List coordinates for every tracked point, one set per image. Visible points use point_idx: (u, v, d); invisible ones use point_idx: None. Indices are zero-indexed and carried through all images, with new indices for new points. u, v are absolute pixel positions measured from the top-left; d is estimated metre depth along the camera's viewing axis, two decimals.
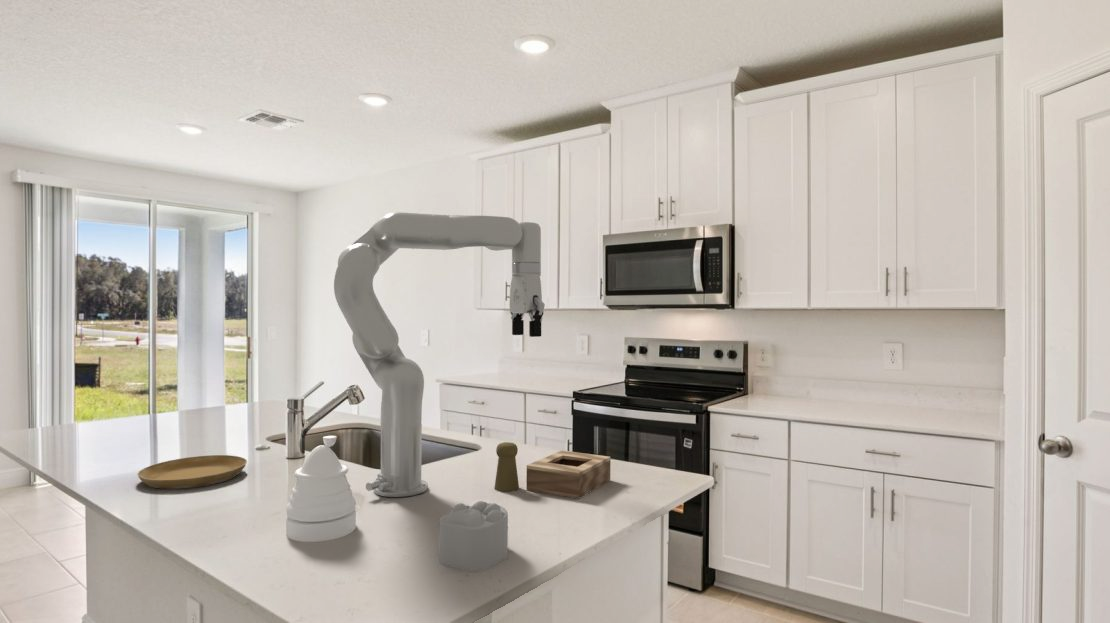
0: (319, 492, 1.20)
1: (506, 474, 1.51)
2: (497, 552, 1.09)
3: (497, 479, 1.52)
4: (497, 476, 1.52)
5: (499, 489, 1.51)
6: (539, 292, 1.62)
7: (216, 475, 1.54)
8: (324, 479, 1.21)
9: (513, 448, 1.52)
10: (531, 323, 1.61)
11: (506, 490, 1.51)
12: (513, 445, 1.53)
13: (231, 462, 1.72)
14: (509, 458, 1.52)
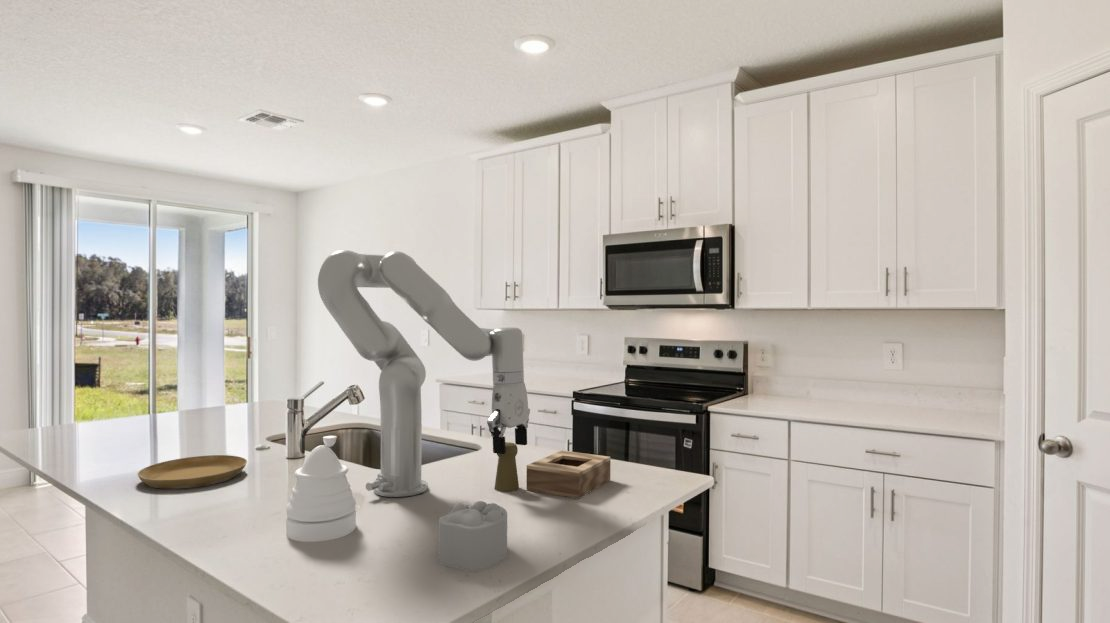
0: (319, 492, 1.20)
1: (506, 474, 1.51)
2: (496, 552, 1.09)
3: (497, 479, 1.52)
4: (497, 476, 1.52)
5: (499, 489, 1.51)
6: None
7: (216, 475, 1.54)
8: (324, 479, 1.21)
9: (513, 448, 1.52)
10: None
11: (506, 490, 1.51)
12: (513, 445, 1.53)
13: (231, 462, 1.72)
14: (509, 458, 1.52)
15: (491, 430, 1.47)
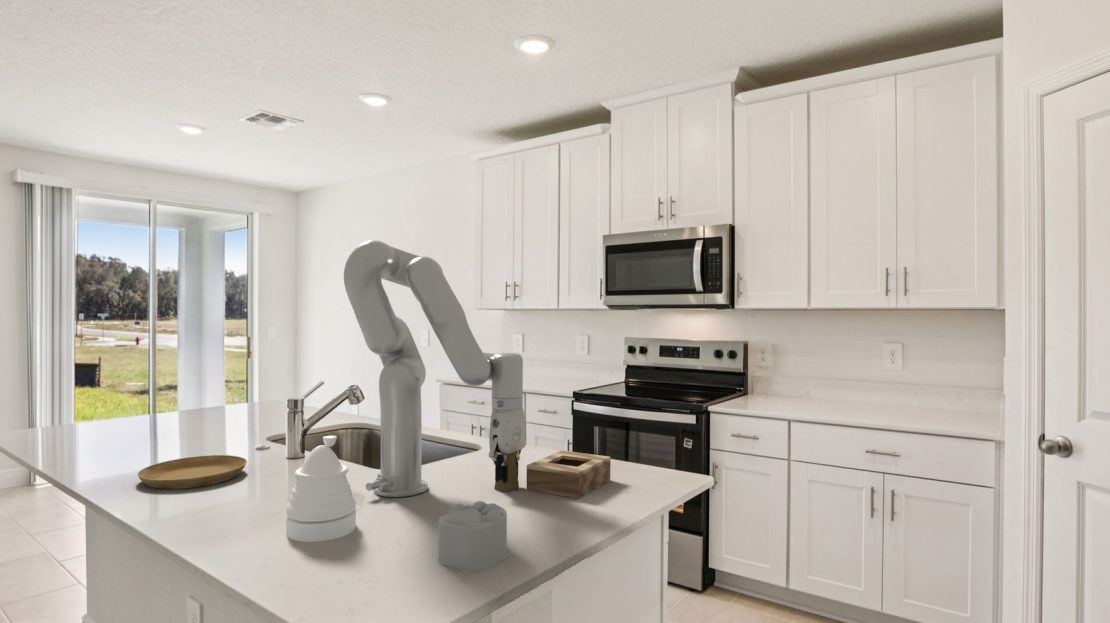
0: (319, 492, 1.20)
1: None
2: (496, 552, 1.09)
3: None
4: None
5: (499, 489, 1.51)
6: None
7: (216, 475, 1.54)
8: (324, 479, 1.21)
9: None
10: None
11: (506, 490, 1.51)
12: None
13: (231, 462, 1.72)
14: (509, 458, 1.52)
15: (494, 460, 1.50)
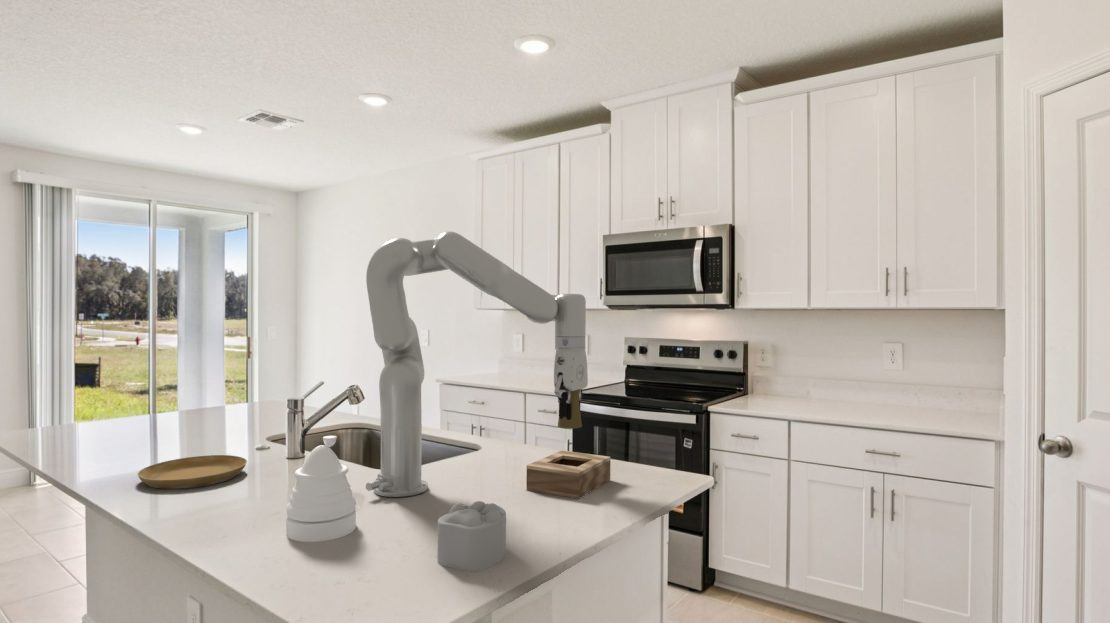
0: (319, 492, 1.20)
1: None
2: (495, 552, 1.09)
3: None
4: None
5: (563, 426, 1.54)
6: None
7: (216, 475, 1.54)
8: (324, 479, 1.21)
9: None
10: None
11: (570, 427, 1.54)
12: None
13: (231, 462, 1.72)
14: (573, 395, 1.55)
15: (559, 397, 1.52)
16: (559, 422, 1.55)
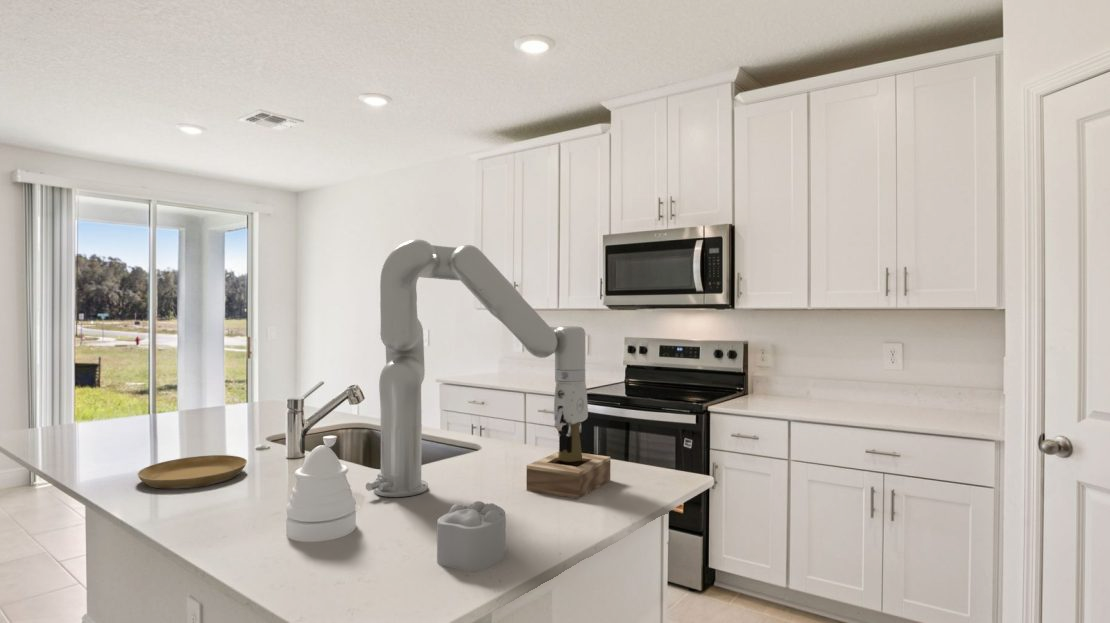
0: (319, 492, 1.20)
1: None
2: (495, 552, 1.09)
3: None
4: None
5: (564, 459, 1.54)
6: None
7: (216, 475, 1.54)
8: (324, 479, 1.21)
9: None
10: None
11: (571, 460, 1.54)
12: None
13: (231, 462, 1.72)
14: (573, 428, 1.55)
15: (560, 430, 1.52)
16: (559, 455, 1.56)
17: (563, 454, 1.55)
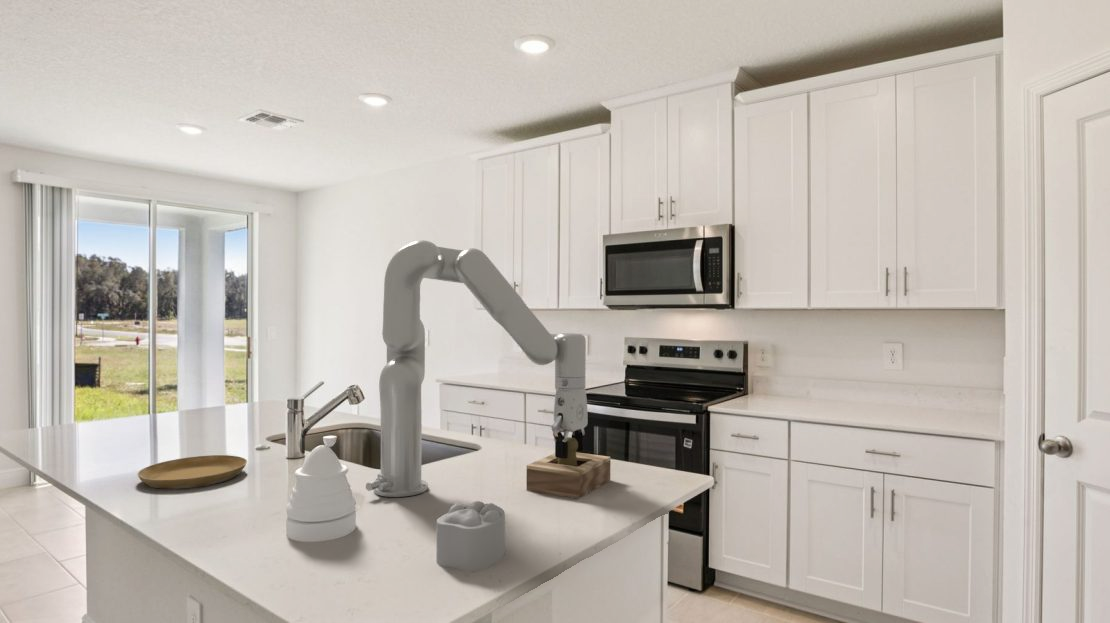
0: (319, 492, 1.20)
1: None
2: (494, 552, 1.09)
3: None
4: None
5: None
6: None
7: (216, 475, 1.54)
8: (324, 479, 1.21)
9: (574, 443, 1.54)
10: None
11: None
12: (574, 440, 1.55)
13: (231, 462, 1.72)
14: (571, 452, 1.54)
15: (555, 435, 1.51)
16: None
17: None
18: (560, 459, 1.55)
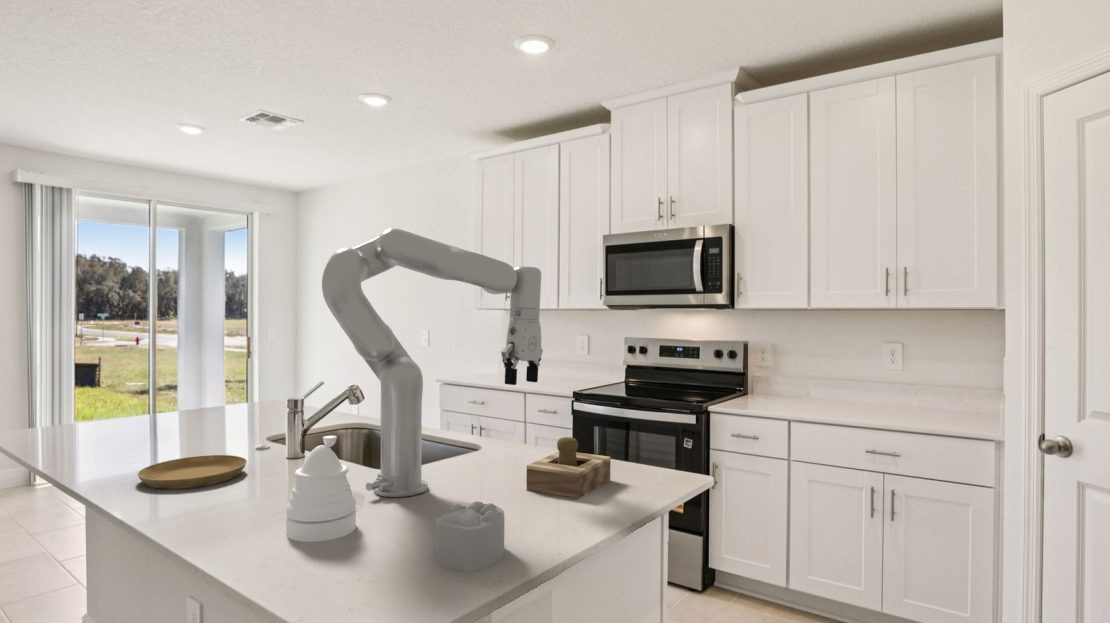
0: (319, 492, 1.20)
1: None
2: (494, 552, 1.09)
3: None
4: None
5: None
6: None
7: (216, 475, 1.54)
8: (324, 479, 1.21)
9: (574, 443, 1.54)
10: None
11: None
12: (574, 440, 1.55)
13: (231, 462, 1.72)
14: (571, 452, 1.54)
15: (504, 360, 1.54)
16: None
17: None
18: (560, 459, 1.55)
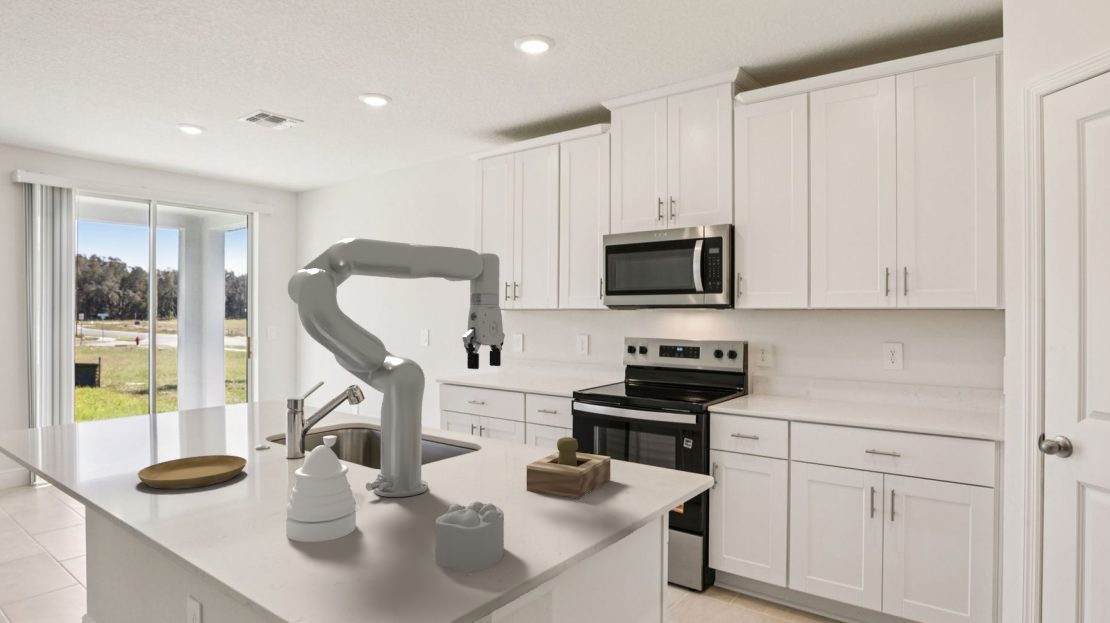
0: (319, 492, 1.20)
1: None
2: (493, 552, 1.09)
3: None
4: None
5: None
6: None
7: (216, 475, 1.54)
8: (324, 479, 1.21)
9: (574, 443, 1.54)
10: None
11: None
12: (574, 440, 1.55)
13: (231, 462, 1.72)
14: (571, 452, 1.54)
15: (466, 346, 1.58)
16: None
17: None
18: (560, 459, 1.55)
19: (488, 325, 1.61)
